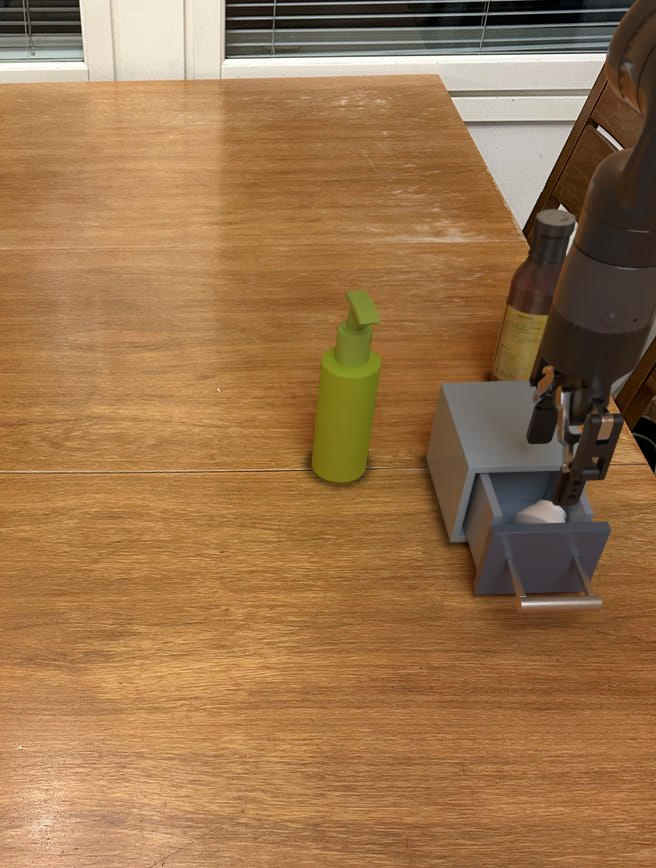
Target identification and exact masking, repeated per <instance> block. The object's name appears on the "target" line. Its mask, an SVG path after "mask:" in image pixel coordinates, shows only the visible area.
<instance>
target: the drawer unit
mask: <svg viewBox="0 0 656 868" xmlns="http://www.w3.org/2000/svg"><path fill="white" fill-rule="evenodd" d="M535 390H536V387H530V383H529V380H524V381H491V380H490V381H462V382H441V383H440V387H439V392H438V396H437V402H436V407H435V411H434V418H433V422H432V427H431V431H430V436H429V441H428V446H427V451H426V456H425V459H426V462H427V466H428V469H429V473H430V476H431V480H432V483H433V487H434V490H435V494H436V497H437V501H438V505H439V508H440V512H441V515H442V518H443V522H444V525H445V530H446V532H447V536H448V539H449V543H468V540H467V536H466V533H465V530H464V526H463V520H464V516H465V513H466V509H467V505H468V501H469V497H470V493H471V489H472V485H473V481H474V477H475V473H498V472H532V471H559V470H560V468H561V466H562V449H563V446H562V444H560V443H559V442H558V441H557V426H556V429H555V432H554V435H553V438H552V441H551V442H550V443H547V444H529V443H528V441H527V439H526V433H527V430H528V427H529V423H530V420H531V416H532V413H533V410H534V406H536V405H534V404H533V399H532V397H533V394H534V391H535ZM557 425H558V423H557ZM569 430H570V432H571V433H573V434H581V432H580V430H579V428H578V426H569ZM578 444H579V443H576V444H575V445H574V454H573V458H574V457H575V453H576V450H577V447H578ZM587 485H588V481H586V483H585V486H584V491H585V489H586V487H587Z"/></svg>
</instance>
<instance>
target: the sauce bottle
mask: <svg viewBox="0 0 656 868" xmlns="http://www.w3.org/2000/svg"><path fill="white" fill-rule="evenodd" d="M576 222H577V218H576V216H575V215H574V214H573V213H572V212H569V211H566V210H564V209H563V210H562V209H558V208H557V209H556V208H550V209H544V210H541V211H538V212H537V213H536V215H535V219H534V223H533V234H532V239H531V243H530V248H529V249H528V252H527V257H526V258H525V260H524V261H523V262H522V263H521V264H520V265H519V266H518V267H517V268H516V270H515V271H514V273H513V275H512V278H511V281H510V286H509V292H508V294H507V295H508V296H507V297H506V299H505V304H504V309H503V313H502V318H501V322H500V327H499V331H498V335H497V340H496V344H495V349H494V354H493V358H492V363H491V367H490V372H491V373H490V382H491V381H524V380H529V378H530V375H531V371H532V368H533V365H534V362H535V359H536V355H537V352H538V349H539V346H540V343H541V339H542V336H543V332H544V329H545V325H546V322H547V318H548V315H549V311H550V308H551V304H552V300H553V297H554V293H555V290H556V286H557V283H558V279H559V276H560V272H561V269H562V266H563V263H564V261H565V258H566V256H567V252H568V248H569V244H570V239H571V236H572V235H573V233H574V232H575V227H576V224H577V223H576ZM548 370H549V366H546V367H544V369H543V372H542V373H546V372H547V371H548Z"/></svg>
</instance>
